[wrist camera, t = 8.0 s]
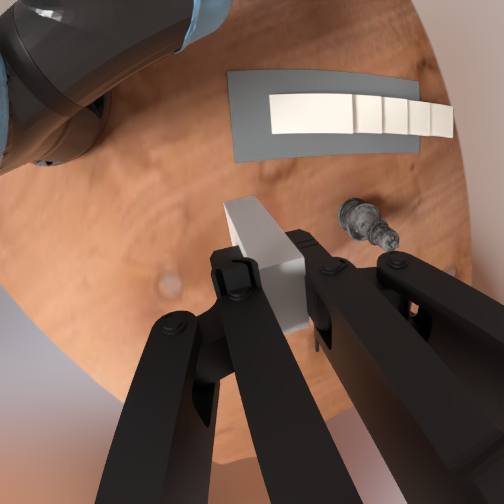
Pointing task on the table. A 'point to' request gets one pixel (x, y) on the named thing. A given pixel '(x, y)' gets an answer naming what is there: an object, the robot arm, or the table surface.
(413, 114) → the tile
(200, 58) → the table surface
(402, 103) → the tile
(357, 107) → the tile
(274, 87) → the mat
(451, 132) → the tile
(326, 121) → the tile
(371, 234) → the grey chess piece
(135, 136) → the table surface
